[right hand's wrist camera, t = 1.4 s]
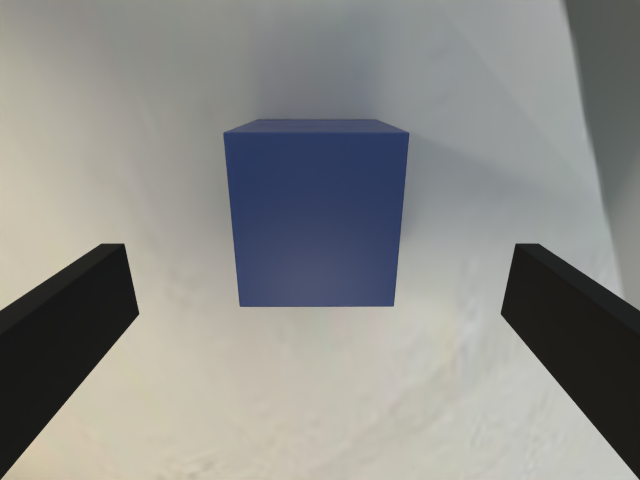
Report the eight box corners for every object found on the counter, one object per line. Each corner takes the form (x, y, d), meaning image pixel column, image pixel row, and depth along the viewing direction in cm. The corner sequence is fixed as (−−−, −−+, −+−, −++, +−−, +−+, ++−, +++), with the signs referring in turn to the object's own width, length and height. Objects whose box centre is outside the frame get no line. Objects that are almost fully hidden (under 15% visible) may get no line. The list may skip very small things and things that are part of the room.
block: (370, 240, 27) (394, 306, 19) (264, 240, 27) (239, 307, 19) (376, 119, 24) (409, 132, 15) (256, 119, 24) (223, 132, 15)
